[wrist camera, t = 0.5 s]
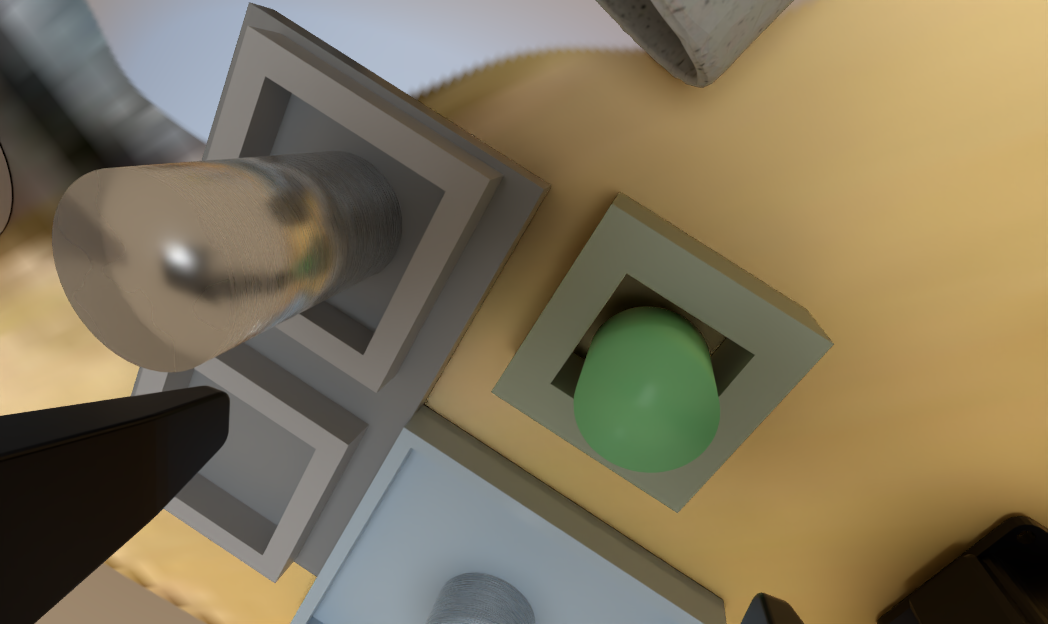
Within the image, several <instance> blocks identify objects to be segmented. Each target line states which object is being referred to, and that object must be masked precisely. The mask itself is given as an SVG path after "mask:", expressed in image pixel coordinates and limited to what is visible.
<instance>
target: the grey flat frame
mask: <svg viewBox="0 0 1048 624" xmlns="http://www.w3.org/2000/svg"><path fill="white" fill-rule="evenodd" d="M324 151H344V152H348V153H352V154H355V155H357V156H360V157H362V158H363V159H365V160H367V161H368V162H370V163H371V164H372V165H374V166H375V167H376V168H377V169H378V170H379V171H380V172H381V173H382V174H383V175H384V176H385V178H386V179H387V180H388V182H389V183H390V185H391V186H392V188H393V190H394V192H395V194H396V197H397V199H398V202H399V205H400V210H401V216H402V234H401V240H400V244H399V247H398V249H397V252H396V253H395V255H394V257H393V259H392V260H391V261H390V262H389V264H388V265H387V266H386V267H385V268H384V269H383V270H381V271H380V272H378V273H377V274H375V275H373V276H371V277H369V278H367V279H365V280H363V281H361V282H359V283H357V284H355V285H354V286H352V287H350V288H348V289H346V290H344V291H342V292H340V293H338V294H336V295H334V296H332V297H330V298H328V299H326V300H325V301H323V302H321V303H319V304H317V305H315V306H313V307H311V308H309V309H307V310H305V311H303V312H301V313H299V314H298V315H296V316H294V317H292V318H290V319H288V320H286V321H284V322H282V323H280V324H278V325H276V326H274V327H272V328H270V329H269V330H267V331H265V332H263V333H261V334H259V335H257V336H255V337H253V338H251V339H249V340H247V341H245V342H243V343H241V344H240V345H238V346H236V347H234V348H232V349H230V350H228V351H226V352H224V353H222V354H220V355H218V356H216V357H214V358H213V359H211V360H209V361H207V362H205V363H203V364H201V365H199V366H197V367H195V368H192V369H189V370H186V371H182V372H172V373H170V372H158V371H153V370H149V369H146V368H142V367H140V368H139V371H138V374H137V378H136V381H135V384H134V388H133V391H132V394H131V396H137V395H143V394H150V393H156V392H163V391H170V390H176V389H183V388H190V387H196V386H204V385H205V386H211V387H213V388H216V389H219V390H221V391H224V392H226V393H227V394H228V395H229V398H230V417H229V434H228V437H227V440H226V442H225V443H224V445H223V446H222V448H221V449H220V450H219V451H218V452H217V453H216V454H215V455H214V456H213V457H212V458H211V459H210V460H209V461H208V462H207V463H206V465H205V466H204V467H203V468H202V469H201V470H200V471H199V472H198V473H197V474H196V475H195V476H194V477H193V478H192V479H191V480H190V481H189V482H188V483H187V485H186V486H185V487H184V488H183V489H182V490H181V491H180V492H179V493H178V494H177V495H176V496H175V497H174V498H173V499H172V500H171V501H170V502H169V503H168V504H167V505H166V506H165V507H164V508H163V509H165V510H166V511H168V512H169V513H171V514H172V515H174V516H175V517H177V518H178V519H180V520H181V521H183V522H184V523H186V524H187V525H189V526H190V527H192V528H193V529H195V530H196V531H198V532H199V533H201V534H202V535H204V536H205V537H207V538H208V539H210V540H211V541H213V542H214V543H216V544H217V545H219V546H220V547H222V548H223V549H225V550H226V551H228V552H229V553H231V554H232V555H234V556H235V557H237V558H238V559H240V560H241V561H243V562H244V563H245V564H247V565H248V566H250V567H251V568H253V569H254V570H256V571H257V572H259V573H260V574H262V575H263V576H265V577H266V578H268V579H269V580H271V581H272V582H274V583H276V582H277V580H278V579H279V578H280V577H281V576H282V575H283V573H284V572H285V571H286V570H287V569H288V567H289V566H290V565H291V564H292V563H293V562H296V563H297V564H299V565H300V566H301V567H303V568H304V569H306V570H307V571H309V572H310V573H312V574H313V575H315V576H316V577H318V575H319V573H320V571H321V570H322V568H323V566H324V565H325V563H326V561H327V559H328V558H329V556H330V554H331V552H332V551H333V549H334V547H335V546H336V544H337V542H338V540H339V539H340V537H341V535H342V533H343V532H344V530H345V528H346V526H347V525H348V523H349V521H350V520H351V518H352V516H353V514H354V513H355V511H356V509H357V507H358V506H359V504H360V502H361V501H362V499H363V497H364V495H365V494H366V492H367V490H368V488H369V487H370V485H371V483H372V481H373V480H374V478H375V476H376V475H377V473H378V471H379V469H380V468H381V466H382V464H383V462H384V461H385V459H386V457H387V456H388V454H389V452H390V450H391V449H392V447H393V445H394V443H395V442H396V440H397V438H398V437H399V435H400V433H401V431H402V430H403V428H404V426H405V425H406V424H407V423H408V422H409V421H410V420H411V418H412V417H413V416H414V415H415V414H416V413H417V411H418V410H419V409H420V408H421V407H422V406H423V404H424V403H425V401H426V399H427V398H428V396H429V394H430V392H431V391H432V389H433V387H434V386H435V384H436V382H437V380H438V379H439V377H440V375H441V374H442V372H443V370H444V368H445V367H446V365H447V363H448V362H449V360H450V358H451V356H452V355H453V353H454V351H455V350H456V348H457V346H458V344H459V343H460V341H461V339H462V338H463V336H464V334H465V332H466V331H467V329H468V327H469V326H470V324H471V322H472V320H473V319H474V317H475V315H476V314H477V312H478V310H479V308H480V307H481V305H482V303H483V302H484V300H485V298H486V297H487V295H488V293H489V291H490V290H491V288H492V286H493V285H494V283H495V281H496V279H497V278H498V276H499V274H500V273H501V271H502V269H503V267H504V266H505V264H506V262H507V261H508V259H509V257H510V255H511V254H512V252H513V250H514V249H515V247H516V245H517V243H518V242H519V240H520V238H521V237H522V235H523V233H524V231H525V230H526V228H527V226H528V225H529V223H530V221H531V219H532V218H533V216H534V214H535V213H536V211H537V209H538V207H539V206H540V204H541V202H542V201H543V199H544V197H545V196H546V194H547V192H548V190H549V189H550V187H551V185H550V184H548V183H547V182H545V181H543V180H542V179H540V178H539V177H537V176H536V175H534V174H532V173H531V172H529V171H528V170H526V169H525V168H523V167H521V166H520V165H518V164H517V163H515V162H514V161H512V160H510V159H509V158H507V157H506V156H504V155H502V154H501V153H499V152H498V151H496V150H495V149H493V148H491V147H490V146H488V145H487V144H485V143H484V142H482V141H480V140H479V139H477V138H476V137H474V136H472V135H471V134H469V133H468V132H466V131H465V130H463V129H461V128H460V127H458V126H457V125H455V124H454V123H452V122H450V121H449V120H447V119H446V118H444V117H442V116H441V115H439V114H438V113H436V112H435V111H433V110H431V109H430V108H428V107H427V106H425V105H424V104H422V103H420V102H419V101H417V100H416V99H414V98H412V97H411V96H409V95H408V94H406V93H405V92H403V91H401V90H400V89H398V88H397V87H395V86H394V85H392V84H390V83H389V82H387V81H386V80H384V79H382V78H381V77H379V76H378V75H376V74H375V73H373V72H371V71H370V70H368V69H367V68H365V67H364V66H362V65H360V64H359V63H357V62H356V61H354V60H352V59H351V58H349V57H348V56H346V55H345V54H343V53H341V52H340V51H338V50H337V49H335V48H334V47H332V46H330V45H329V44H327V43H326V42H324V41H322V40H321V39H319V38H318V37H316V36H315V35H313V34H311V33H310V32H308V31H307V30H305V29H304V28H302V27H300V26H299V25H297V24H296V23H294V22H293V21H291V20H289V19H288V18H286V17H285V16H283V15H281V14H280V13H278V12H277V11H275V10H273V9H270V8H267V7H263V6H260V5H256V4H253V3H249V5H248V8H247V11H246V15H245V18H244V21H243V25H242V28H241V31H240V35H239V38H238V41H237V45H236V48H235V51H234V55H233V58H232V61H231V65H230V68H229V71H228V75H227V78H226V82H225V85H224V88H223V92H222V95H221V98H220V101H219V105H218V108H217V111H216V115H215V118H214V121H213V125H212V128H211V131H210V135H209V138H208V141H207V145H206V148H205V151H204V155H203V158H202V161H208V160H221V159H234V158H247V157H260V156H273V155H285V154H298V153H311V152H324Z"/></svg>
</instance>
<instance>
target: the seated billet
mask: <svg viewBox="0 0 1048 624" xmlns="http://www.w3.org/2000/svg"><path fill="white" fill-rule="evenodd" d="M401 234H402V216H401V210H400V205H399V202H398V199H397V197H396V194H395V192H394V190H393V188H392V186H391V185H390V183H389V182H388V180H387V179H386V178H385V176H384V175H383V174H382V173H381V172H380V171H379V170H378V169H377V168H376V167H375V166H374V165H372V164H371V163H370V162H368V161H367V160H365V159H363V158H362V157H360V156H357V155H355V154H352V153H348V152H344V151H324V152H311V153H298V154H285V155H273V156H260V157H247V158H234V159H221V160H208V161H195V162H182V163H169V164H156V165H143V166H130V167H117V168H104V169H100V170H96V171H92V172H90V173H88V174H85V175H83V176H82V177H80V178H79V179H78V180H76V181H75V182H74V183H73V184H72V185H71V186H70V187H69V188H68V189H67V190H66V192H65V193H64V195H63V196H62V198H61V200H60V202H59V205H58V207H57V209H56V213H55V217H54V221H53V229H52V247H53V256H54V261H55V265H56V270H57V273H58V276H59V279H60V282H61V285H62V287H63V289H64V292H65V294H66V296H67V298H68V300H69V302H70V303H71V305H72V307H73V309H74V310H75V312H76V313H77V315H78V316H79V318H80V319H81V320H82V322H83V323H84V324H85V325H86V327H87V328H88V329H89V330H90V331H91V332H92V334H93V335H94V336H95V337H96V338H97V339H98V340H99V341H100V342H102V343H103V344H104V345H105V346H106V347H107V348H109V349H110V350H111V351H113V352H114V353H115V354H117V355H118V356H120V357H122V358H123V359H125V360H127V361H128V362H131V363H133V364H135V365H137V366H139V367H142V368H146V369H149V370H153V371H158V372H170V373H172V372H182V371H186V370H189V369H192V368H195V367H197V366H199V365H201V364H203V363H205V362H207V361H209V360H211V359H213V358H214V357H216V356H218V355H220V354H222V353H224V352H226V351H228V350H230V349H232V348H234V347H236V346H238V345H240V344H241V343H243V342H245V341H247V340H249V339H251V338H253V337H255V336H257V335H259V334H261V333H263V332H265V331H267V330H269V329H270V328H272V327H274V326H276V325H278V324H280V323H282V322H284V321H286V320H288V319H290V318H292V317H294V316H296V315H298V314H299V313H301V312H303V311H305V310H307V309H309V308H311V307H313V306H315V305H317V304H319V303H321V302H323V301H325V300H326V299H328V298H330V297H332V296H334V295H336V294H338V293H340V292H342V291H344V290H346V289H348V288H350V287H352V286H354V285H355V284H357V283H359V282H361V281H363V280H365V279H367V278H369V277H371V276H373V275H375V274H377V273H378V272H380V271H381V270H383V269H384V268H385V267H386V266H387V265H388V264H389V262H390V261H391V260H392V259H393V257H394V255H395V253H396V252H397V249H398V247H399V244H400V240H401Z"/></svg>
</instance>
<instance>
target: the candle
mask: <svg viewBox="0 0 1048 624" xmlns="http://www.w3.org/2000/svg"><path fill="white" fill-rule="evenodd" d="M11 202H12V191H11V182H10V175H9V171H8V167H7V164H6V160H5V157H4V155H3V152H2V150H1V147H0V233H1V232H2V231H3V229H4V227H5V225H6V224H7V221H8V218H9V215H10V210H11Z"/></svg>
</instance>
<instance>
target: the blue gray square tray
mask: <svg viewBox="0 0 1048 624" xmlns="http://www.w3.org/2000/svg"><path fill="white" fill-rule="evenodd" d="M472 572H475V573H485V574H489V575H493V576H496V577H498V578H501V579H503V580H505V581H506V582H508V583H510V584H511V585H513V586H514V587H515V588H516V589H518V590H519V591H520V592H521V593H522V594H523V595H524V597H525V598H526V599H527V601H528V602H529V604H530V605H531V607H532V610H533V612H534V616H535V624H726V616H725V608H724V601H723V600H722V599H721V598H719V597H717V596H716V595H714V594H713V593H711V592H710V591H708V590H707V589H705V588H704V587H702V586H701V585H699V584H698V583H696V582H694V581H693V580H691V579H690V578H688V577H687V576H685V575H684V574H682V573H681V572H679V571H678V570H676V569H675V568H673V567H671V566H670V565H668V564H667V563H665V562H664V561H662V560H661V559H659V558H658V557H656V556H655V555H653V554H652V553H650V552H648V551H647V550H645V549H644V548H642V547H641V546H639V545H638V544H636V543H635V542H633V541H632V540H630V539H629V538H627V537H626V536H624V535H622V534H621V533H619V532H618V531H616V530H615V529H613V528H612V527H610V526H609V525H607V524H606V523H604V522H603V521H601V520H599V519H598V518H596V517H595V516H593V515H592V514H590V513H589V512H587V511H586V510H584V509H583V508H581V507H580V506H578V505H576V504H575V503H573V502H572V501H570V500H569V499H567V498H566V497H564V496H563V495H561V494H560V493H558V492H557V491H555V490H554V489H552V488H550V487H549V486H547V485H546V484H544V483H543V482H541V481H540V480H538V479H537V478H535V477H534V476H532V475H531V474H529V473H527V472H526V471H524V470H523V469H521V468H520V467H518V466H517V465H515V464H514V463H512V462H511V461H509V460H508V459H506V458H504V457H503V456H501V455H500V454H498V453H497V452H495V451H494V450H492V449H491V448H489V447H488V446H486V445H485V444H483V443H482V442H480V441H478V440H477V439H475V438H474V437H472V436H471V435H469V434H468V433H466V432H465V431H463V430H462V429H460V428H459V427H457V426H455V425H454V424H452V423H451V422H449V421H448V420H446V419H445V418H443V417H442V416H440V415H439V414H437V413H436V412H434V411H432V410H431V409H429V408H428V407H426V406H425V405H423V406H422V407H421V408H420V409H419V410H418V411H417V413H416V414H415V415H414V416H413V417H412V418H411V420H410V421H409V422H408V423H407V424H406V425H405V426H404V428H403V430H402V431H401V433H400V435H399V437H398V438H397V440H396V442H395V443H394V445H393V447H392V449H391V450H390V452H389V454H388V456H387V457H386V459H385V461H384V462H383V464H382V466H381V468H380V469H379V471H378V473H377V475H376V476H375V478H374V480H373V481H372V483H371V485H370V487H369V488H368V490H367V492H366V494H365V495H364V497H363V499H362V501H361V502H360V504H359V506H358V507H357V509H356V511H355V513H354V514H353V516H352V518H351V520H350V521H349V523H348V525H347V526H346V528H345V530H344V532H343V533H342V535H341V537H340V539H339V540H338V542H337V544H336V546H335V547H334V549H333V551H332V552H331V554H330V556H329V558H328V559H327V561H326V563H325V565H324V566H323V568H322V570H321V571H320V573H319V575H318V577H317V578H316V580H315V582H314V584H313V585H312V587H311V589H310V590H309V592H308V594H307V596H306V597H305V599H304V601H303V603H302V604H301V606H300V608H299V610H298V611H297V613H296V615H295V616H294V618H293V620H292V622H291V623H290V624H425V622H426V620H427V618H428V616H429V614H430V612H431V610H432V608H433V605H434V603H435V601H436V599H437V597H438V595H439V593H440V591H441V589H442V587H443V586H444V585H445V583H446V582H447V581H449V580H450V579H451V578H453V577H455V576H457V575H460V574H464V573H472Z"/></svg>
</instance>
